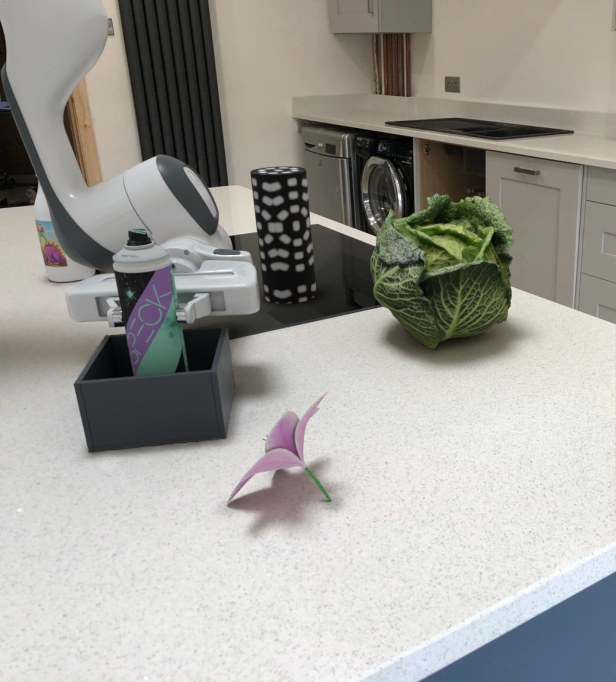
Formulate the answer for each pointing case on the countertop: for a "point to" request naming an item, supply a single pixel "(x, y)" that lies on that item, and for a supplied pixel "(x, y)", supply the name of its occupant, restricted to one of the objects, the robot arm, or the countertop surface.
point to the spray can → (149, 306)
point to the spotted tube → (284, 233)
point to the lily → (284, 447)
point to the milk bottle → (55, 247)
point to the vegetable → (445, 268)
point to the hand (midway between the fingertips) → (149, 318)
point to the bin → (156, 395)
